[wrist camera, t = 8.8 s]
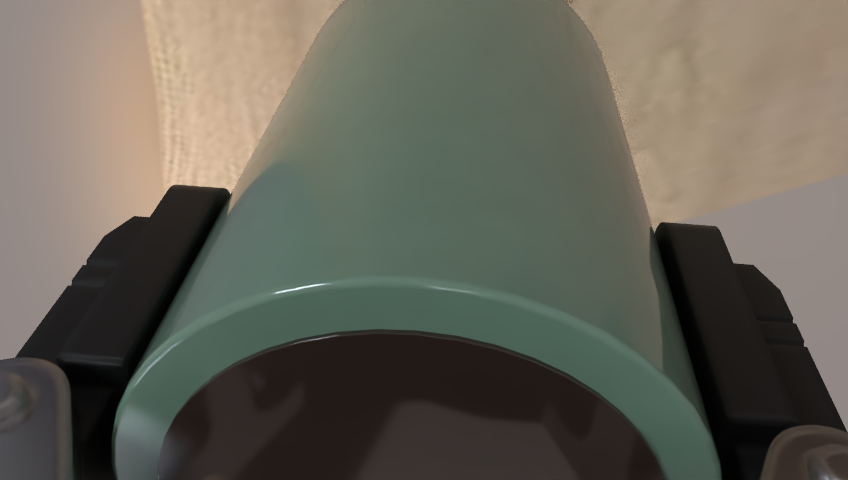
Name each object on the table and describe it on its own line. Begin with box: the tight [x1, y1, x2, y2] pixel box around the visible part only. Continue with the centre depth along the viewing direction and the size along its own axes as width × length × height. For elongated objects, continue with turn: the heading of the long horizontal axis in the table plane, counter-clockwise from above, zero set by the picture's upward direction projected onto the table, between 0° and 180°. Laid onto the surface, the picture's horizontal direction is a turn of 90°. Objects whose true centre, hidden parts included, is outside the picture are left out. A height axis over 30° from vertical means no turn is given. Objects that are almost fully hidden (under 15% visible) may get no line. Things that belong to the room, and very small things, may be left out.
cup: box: [111, 0, 723, 480], centre depth 11 cm, size 6×6×9 cm
